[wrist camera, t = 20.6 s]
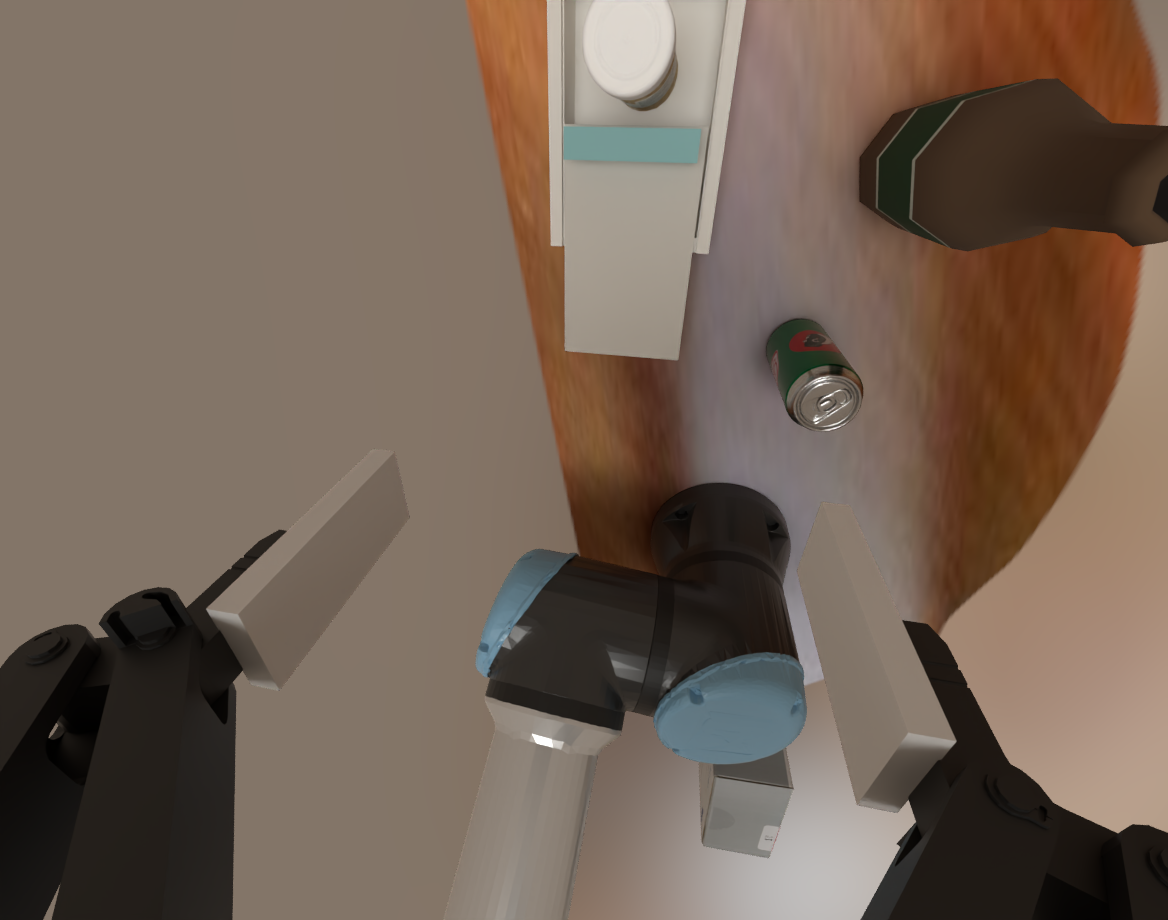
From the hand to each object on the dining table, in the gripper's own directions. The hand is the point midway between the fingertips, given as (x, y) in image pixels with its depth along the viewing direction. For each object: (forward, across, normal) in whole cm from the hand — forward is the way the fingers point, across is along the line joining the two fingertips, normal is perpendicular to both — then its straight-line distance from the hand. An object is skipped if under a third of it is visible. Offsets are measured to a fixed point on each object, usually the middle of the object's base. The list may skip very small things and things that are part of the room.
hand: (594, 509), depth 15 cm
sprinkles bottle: (+32, +2, -14) cm, 35 cm away
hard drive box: (+33, -15, +49) cm, 61 cm away
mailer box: (+33, +2, -11) cm, 35 cm away
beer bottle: (+33, -18, -9) cm, 38 cm away
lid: (+28, +2, -3) cm, 28 cm away
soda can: (+33, -13, +5) cm, 36 cm away
